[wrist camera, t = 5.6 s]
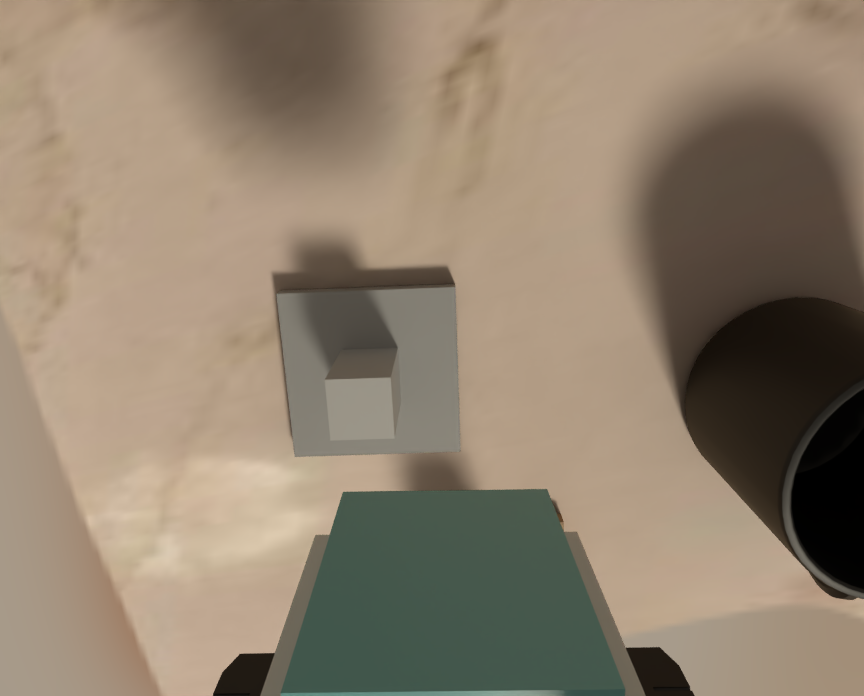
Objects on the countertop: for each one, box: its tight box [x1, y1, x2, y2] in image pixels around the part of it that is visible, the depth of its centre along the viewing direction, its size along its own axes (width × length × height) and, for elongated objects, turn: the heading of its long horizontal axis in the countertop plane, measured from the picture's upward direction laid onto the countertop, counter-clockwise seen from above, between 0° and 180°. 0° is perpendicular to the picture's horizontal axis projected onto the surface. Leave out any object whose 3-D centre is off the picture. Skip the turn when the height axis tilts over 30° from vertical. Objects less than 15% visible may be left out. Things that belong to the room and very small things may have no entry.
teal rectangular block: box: [281, 489, 625, 696], centre depth 13 cm, size 5×5×7 cm
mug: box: [685, 297, 864, 600], centre depth 25 cm, size 9×12×9 cm
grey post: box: [276, 284, 460, 457], centre depth 27 cm, size 8×8×5 cm
